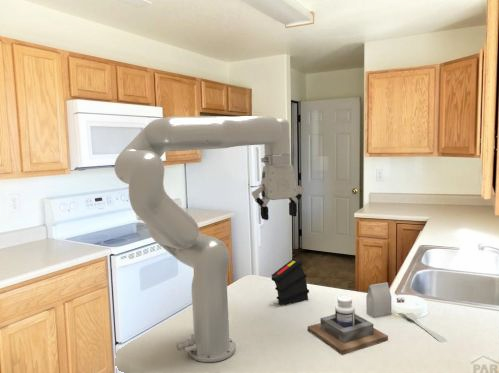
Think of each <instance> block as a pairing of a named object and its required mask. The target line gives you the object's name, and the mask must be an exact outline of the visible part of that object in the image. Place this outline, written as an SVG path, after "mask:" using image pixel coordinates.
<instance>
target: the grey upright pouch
mask: <svg viewBox="0 0 499 373" xmlns="http://www.w3.org/2000/svg"><path fill="white" fill-rule="evenodd" d="M368 286H369V287H368V290H367V293H366V296H365V297H366V302H365V303H366V305H365V306H366V315H368V316H369V317H370V318H372V319H377V318H381V317H386V316H391V315H392V294H391V289H390V287H389V282H387V281H386V282H381V283H375V284H370V285H368Z"/></svg>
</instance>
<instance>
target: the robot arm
mask: <svg viewBox="0 0 499 373" xmlns="http://www.w3.org/2000/svg"><path fill="white" fill-rule="evenodd" d="M290 142H291V140H290V122H289V121H288V120H287V119H286V118H276V117H274V116H271V115H270V116H269V115H268V116H266V115H263V116H254V115H253V116H252V115H251V116H250V115H249V116H228V115H227V116H223V115H222V116H168V117H163V118H161V117H160V118H158V119H157V118H156V119H154V120H152V121H150V122H149V123H148V124H147V125H146V126H145V127H144V128H142V129H141V131H140V132H139V133H138V134H137V135H136V136H135V137H134V138H133V139H132V141H130V143H128V144H127V146H126V147H125V148H124V149H123V150H122V151H121V152H120V153H119V154H118V156H117V157H116V159H115V162H114V167H113V168H114V173H115V175H116V177H117V178H118V180H120V181H121V182H122V183H124V184H127V185H128V198H129V199H128V200H129V204H130V206H131V208H132V210H133V212H134V213H135V215H137V217H138V218H139V219H140V220H142V222H143V223H144V224H146V225H147V228H148V232H149V235H150V237H151V238H152V240H154V241H155V243H157V244H158V245H159V246H160V247H162V248H163V249H164V250H165V251H166V252H168V253H169V254H170V255H172V256H173V257H174V258H175V259H176V260H177V261H179V262H180V263H182V264H184V265H186V266H188V267H190V268H192V269H193V270H194V273H193V278H192V281H191V282H192V283H191V304H192V306H191V307H192V319H193V320H192V322H193V324H192V325H193V333H192V334H191V335H190V338H188V339H187V340H185V341H179V342H176V349H177V351H182V350H183V351H184V353H189V356H190V357H191V358H192V359H194V360H195V361H199V362H202V363H215V362H220V361H224V360H226V359H228V358H230V357H231V356H233V354H234V353H235V352H236V343H235V341H234V340H233V339H231V337H230V324H229V303H228V297H229V296H228V269H229V264H230V263H229V262H230V252H229V249H228V247H227V245H226V244H225V243H224V242H223V241H222V240H221V239H219V238H216V236H215V237H214V236H211V235H208V234H204V233H201V232H200V228H199V227H200V226H199V225H198V222H196V220H195V219H194V218H193V217H192V216H191V215H190V214H189V213H187V212H186V211H185V210H184V209H183V208H181V207H180V205H178V203H176V202H175V201H174V200H173V199H172V198H171V197H170V196H169V194H167V192H166V190H165V186H164V178H165V163H164V162H163V159H162V158H161V157H162V156H163V155H164V154H165V152H185V151H198V150H200V151H201V150H216V149H217V150H219V149H228V148H236V147H243V146H259V145H264V146H263V147H264V156H263V157H261V159H260V160H261V161H260V162H261V163H263V164H264V165H263V166H262V170H261V172H262V173H261V178H260V180H261V182H260V186H259V187H258V188H256V189H254V191H252V192H251V195H252V197H253V200H254V201H255V202H256V204H258V206H259V207H260V216H261V219H262V220H265V221H268V220H269V217H270V216H269V207H268V204H269V202H270V201H276V200H278V201H279V200H286V199H287V200H289V202H288V214H289V216H291V217H297V212H298V209H297V208H298V207H297V206H298V205H297V204H298V203H299V200H300V199H301V197H302V194H303V192H304V190H305V189H304V188H303V187H302V186H300V185H298V184H297V181H296V180H297V179H296V173H295V169H294V165H293V164H291V149H290V148H291V146H290V145H291V144H290ZM260 193H261V197H262V198H260V196H259V194H260Z"/></svg>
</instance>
